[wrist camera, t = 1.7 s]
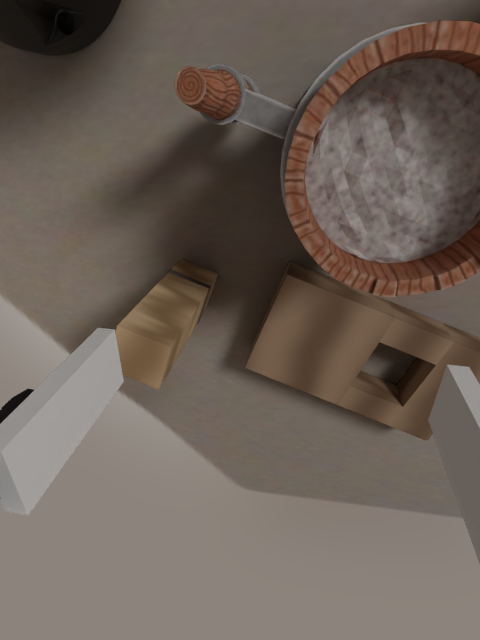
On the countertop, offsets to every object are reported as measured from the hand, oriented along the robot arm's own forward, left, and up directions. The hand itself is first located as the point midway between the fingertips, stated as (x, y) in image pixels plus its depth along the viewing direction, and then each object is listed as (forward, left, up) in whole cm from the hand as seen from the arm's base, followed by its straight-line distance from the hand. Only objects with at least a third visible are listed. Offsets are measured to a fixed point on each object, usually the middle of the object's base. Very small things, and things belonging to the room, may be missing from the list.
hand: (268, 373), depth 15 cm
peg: (-7, -9, -22) cm, 25 cm away
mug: (+1, +8, -22) cm, 24 cm away
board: (+11, -8, -22) cm, 26 cm away
